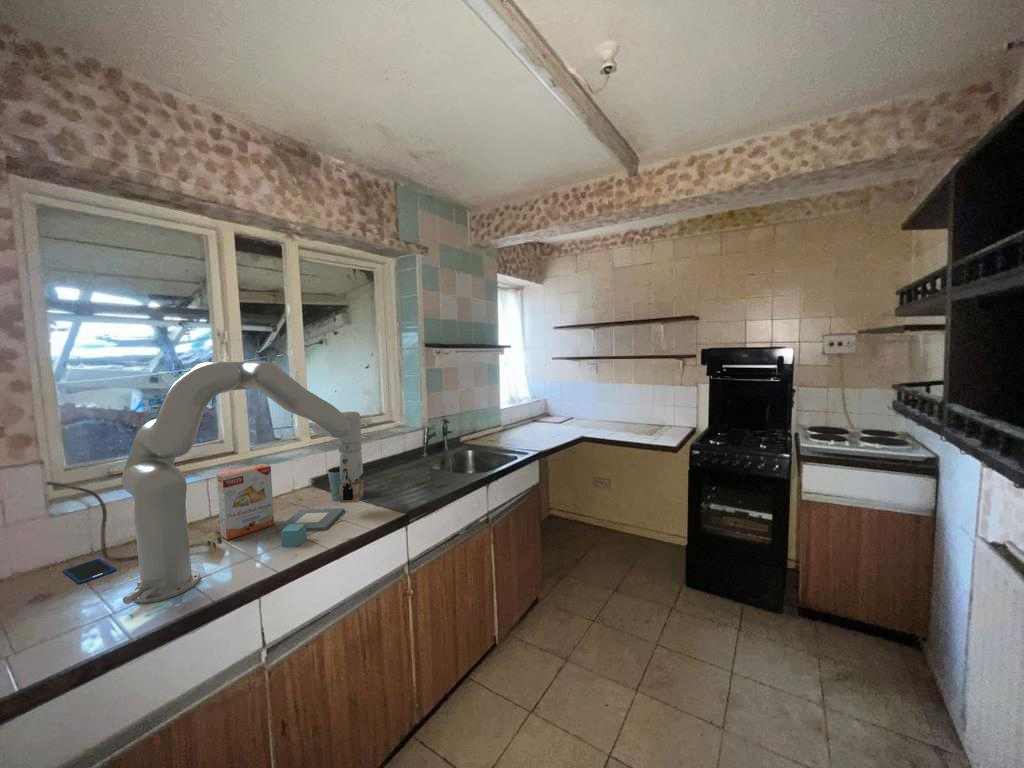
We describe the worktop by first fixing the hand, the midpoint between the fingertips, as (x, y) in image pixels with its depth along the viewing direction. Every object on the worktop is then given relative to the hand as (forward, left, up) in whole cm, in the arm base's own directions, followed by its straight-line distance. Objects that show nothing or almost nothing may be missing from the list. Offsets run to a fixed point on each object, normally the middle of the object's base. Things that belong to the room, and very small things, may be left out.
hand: (351, 496), depth 140 cm
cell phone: (-32, +60, -8) cm, 68 cm away
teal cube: (-20, +11, -7) cm, 23 cm away
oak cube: (0, 0, -1) cm, 1 cm away
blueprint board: (-4, +13, -7) cm, 15 cm away
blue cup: (+18, +11, -7) cm, 22 cm away
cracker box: (-10, +31, -7) cm, 33 cm away
